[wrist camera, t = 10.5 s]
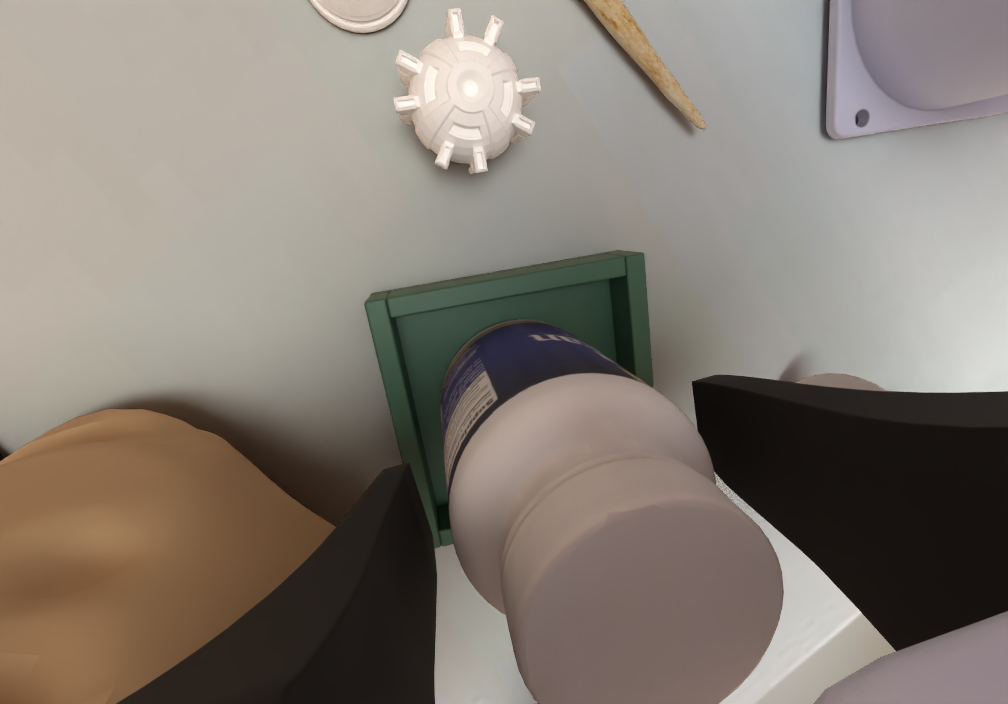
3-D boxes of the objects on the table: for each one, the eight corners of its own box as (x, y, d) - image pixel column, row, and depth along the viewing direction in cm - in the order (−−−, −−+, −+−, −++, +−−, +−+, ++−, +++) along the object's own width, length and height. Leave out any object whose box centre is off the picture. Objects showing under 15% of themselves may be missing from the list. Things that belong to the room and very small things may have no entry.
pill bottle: (620, 347, 16) (899, 512, 7) (558, 483, 17) (727, 795, 7) (474, 291, 15) (564, 394, 5) (415, 441, 15) (403, 757, 6)
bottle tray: (618, 250, 15) (644, 252, 14) (637, 466, 18) (661, 493, 16) (371, 293, 14) (363, 302, 13) (423, 517, 17) (423, 552, 15)
